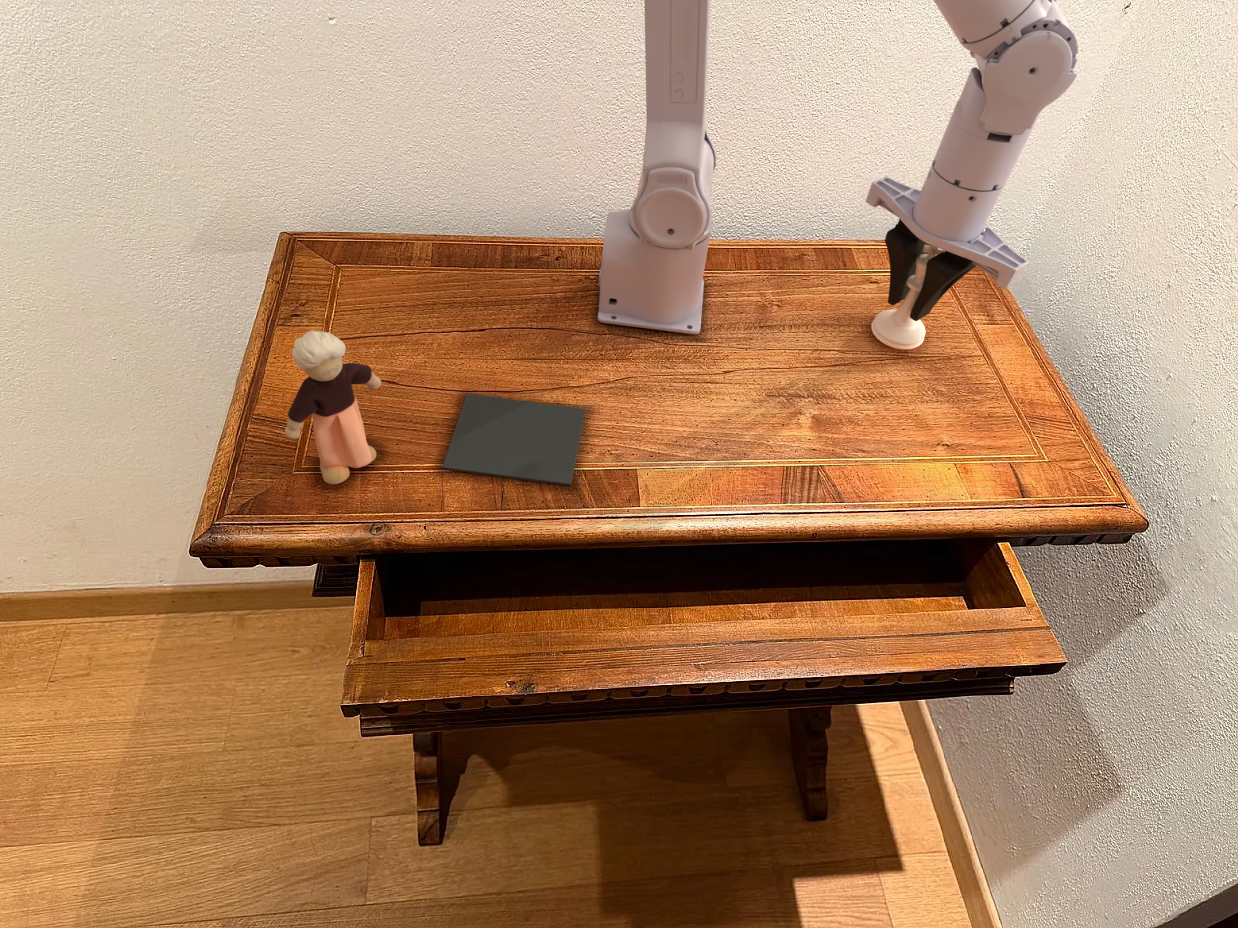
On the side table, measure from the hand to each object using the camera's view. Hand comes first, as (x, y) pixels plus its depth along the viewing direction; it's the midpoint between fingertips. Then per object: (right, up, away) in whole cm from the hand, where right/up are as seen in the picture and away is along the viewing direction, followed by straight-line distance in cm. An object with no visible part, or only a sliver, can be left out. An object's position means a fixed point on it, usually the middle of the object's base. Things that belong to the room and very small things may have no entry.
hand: (908, 307), depth 72 cm
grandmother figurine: (-47, -14, -11) cm, 50 cm away
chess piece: (0, -2, +2) cm, 3 cm away
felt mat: (-35, -12, -9) cm, 38 cm away
